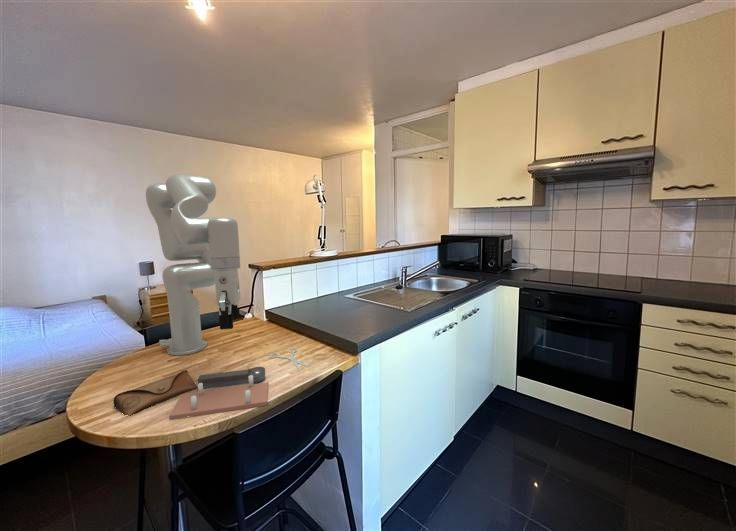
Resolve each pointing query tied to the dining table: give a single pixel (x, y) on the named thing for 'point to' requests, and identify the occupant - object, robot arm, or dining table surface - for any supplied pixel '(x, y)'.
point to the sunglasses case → (153, 393)
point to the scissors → (289, 358)
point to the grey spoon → (232, 378)
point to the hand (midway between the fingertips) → (229, 323)
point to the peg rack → (221, 399)
